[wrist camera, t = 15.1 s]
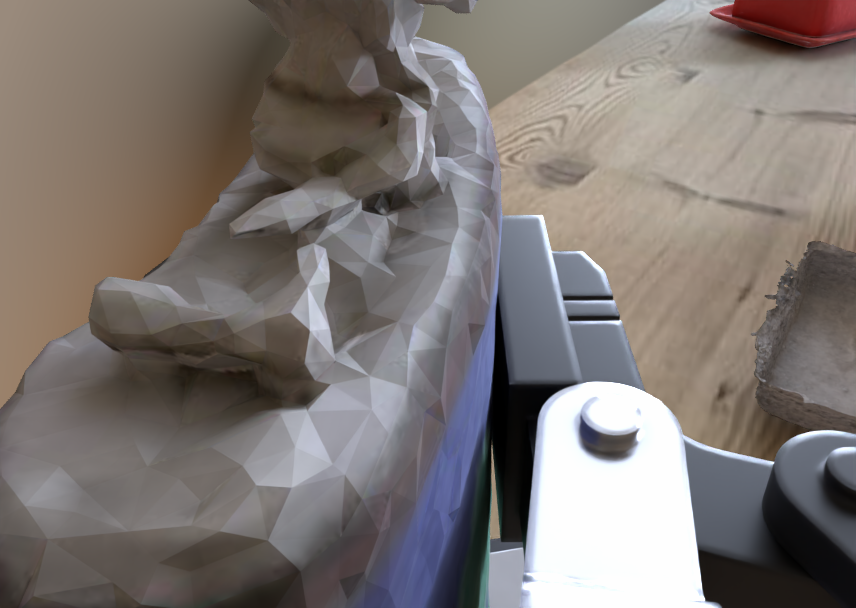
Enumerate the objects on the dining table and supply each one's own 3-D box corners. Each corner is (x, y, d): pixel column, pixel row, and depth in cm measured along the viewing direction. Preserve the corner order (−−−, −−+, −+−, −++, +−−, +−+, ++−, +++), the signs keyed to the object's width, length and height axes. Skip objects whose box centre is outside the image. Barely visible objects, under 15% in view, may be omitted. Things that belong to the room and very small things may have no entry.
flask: (351, 485, 16) (292, -124, 10) (499, 495, 16) (532, -124, 10) (187, 1147, 8) (-492, 265, 2) (469, 1191, 8) (538, 315, 2)
